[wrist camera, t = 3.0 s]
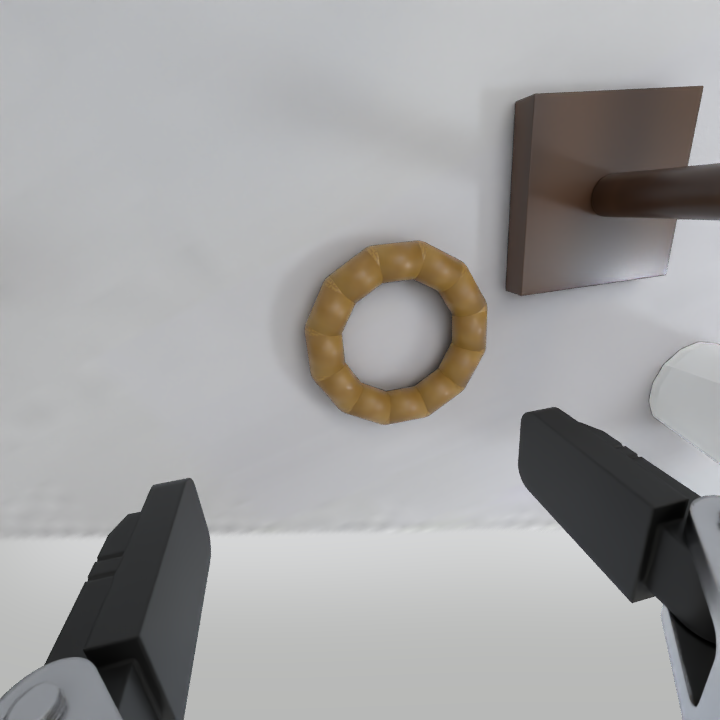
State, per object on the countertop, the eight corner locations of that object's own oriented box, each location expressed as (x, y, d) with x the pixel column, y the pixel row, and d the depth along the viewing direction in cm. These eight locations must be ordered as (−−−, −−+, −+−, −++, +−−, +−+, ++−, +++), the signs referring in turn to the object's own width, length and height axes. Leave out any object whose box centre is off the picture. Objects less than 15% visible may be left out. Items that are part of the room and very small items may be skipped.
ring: (317, 426, 23) (321, 444, 21) (292, 252, 19) (295, 256, 17) (474, 397, 24) (489, 411, 23) (478, 231, 21) (497, 234, 19)
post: (505, 290, 22) (804, 394, 10) (515, 101, 19) (984, -94, 7) (643, 271, 24) (1048, 340, 12) (674, 93, 20) (1293, -76, 8)
